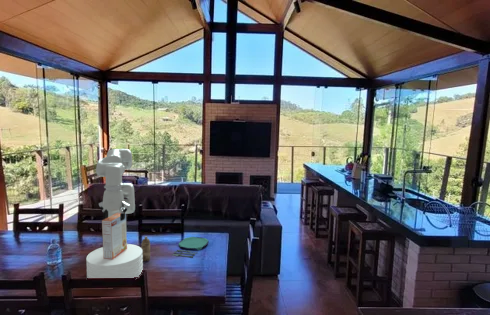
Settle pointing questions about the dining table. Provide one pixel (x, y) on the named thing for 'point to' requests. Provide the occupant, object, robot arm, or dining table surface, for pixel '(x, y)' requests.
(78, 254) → the dining table surface
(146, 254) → the walnut pepper mill
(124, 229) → the cracker box
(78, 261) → the dining table surface
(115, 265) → the plate stack
